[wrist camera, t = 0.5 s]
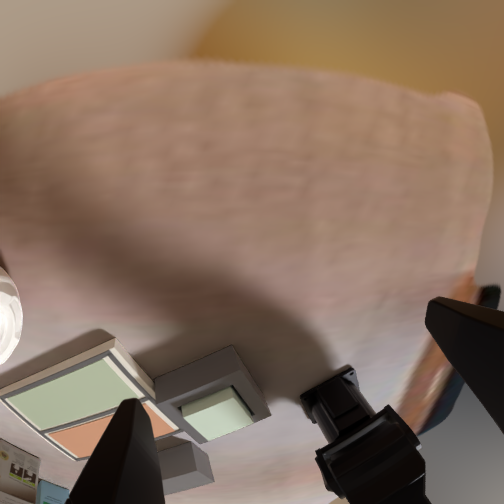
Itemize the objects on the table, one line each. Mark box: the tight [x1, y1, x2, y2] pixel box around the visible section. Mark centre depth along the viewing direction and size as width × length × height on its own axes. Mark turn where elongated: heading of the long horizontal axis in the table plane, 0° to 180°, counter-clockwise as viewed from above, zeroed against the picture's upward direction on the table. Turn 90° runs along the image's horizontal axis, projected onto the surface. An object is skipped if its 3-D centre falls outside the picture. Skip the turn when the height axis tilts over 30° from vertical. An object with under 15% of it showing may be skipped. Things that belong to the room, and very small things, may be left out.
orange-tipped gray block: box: [157, 441, 215, 495], centre depth 27 cm, size 4×10×4 cm, turn 111°
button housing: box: [154, 345, 271, 444], centre depth 25 cm, size 7×7×3 cm
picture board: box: [0, 338, 184, 461], centre depth 23 cm, size 12×16×1 cm
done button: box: [181, 385, 254, 441], centre depth 24 cm, size 4×4×2 cm
